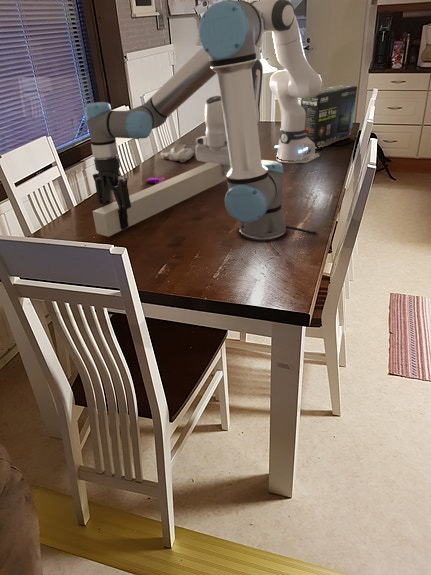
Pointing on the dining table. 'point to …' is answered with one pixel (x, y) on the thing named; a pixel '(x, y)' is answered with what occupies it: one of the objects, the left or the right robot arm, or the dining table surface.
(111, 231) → the beam
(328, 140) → the router box
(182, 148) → the fossil
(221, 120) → the right robot arm
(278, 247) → the dining table surface
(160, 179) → the handgun
